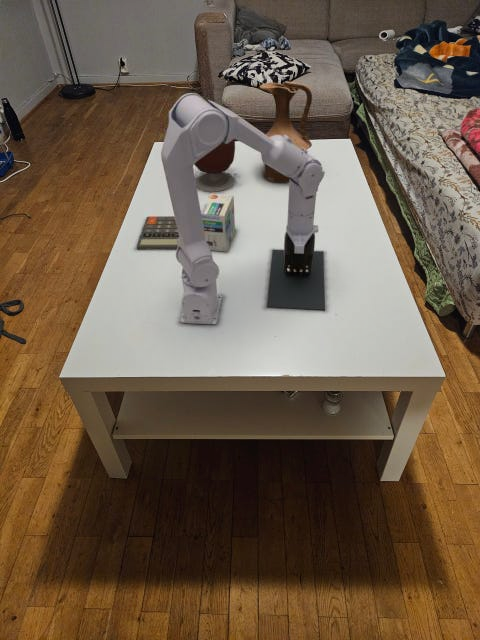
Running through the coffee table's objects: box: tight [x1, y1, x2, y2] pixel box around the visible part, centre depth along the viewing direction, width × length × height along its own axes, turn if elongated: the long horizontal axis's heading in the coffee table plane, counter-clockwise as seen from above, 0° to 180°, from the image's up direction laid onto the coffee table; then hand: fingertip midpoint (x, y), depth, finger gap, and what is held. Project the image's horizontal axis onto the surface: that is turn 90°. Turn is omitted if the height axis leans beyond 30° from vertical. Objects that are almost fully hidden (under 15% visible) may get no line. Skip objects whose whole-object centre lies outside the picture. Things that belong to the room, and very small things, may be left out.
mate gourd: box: [193, 139, 236, 193], centre depth 139 cm, size 16×14×20 cm
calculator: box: [136, 215, 179, 250], centre depth 125 cm, size 12×1×15 cm
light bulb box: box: [200, 193, 236, 252], centre depth 119 cm, size 11×7×11 cm, turn 168°
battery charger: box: [283, 231, 316, 275], centre depth 106 cm, size 7×4×11 cm, turn 85°
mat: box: [266, 249, 326, 312], centre depth 110 cm, size 22×13×1 cm, turn 174°
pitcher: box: [259, 80, 313, 183], centre depth 138 cm, size 18×17×28 cm
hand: (297, 260), depth 107 cm, fingers closed on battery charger, 4 cm apart
